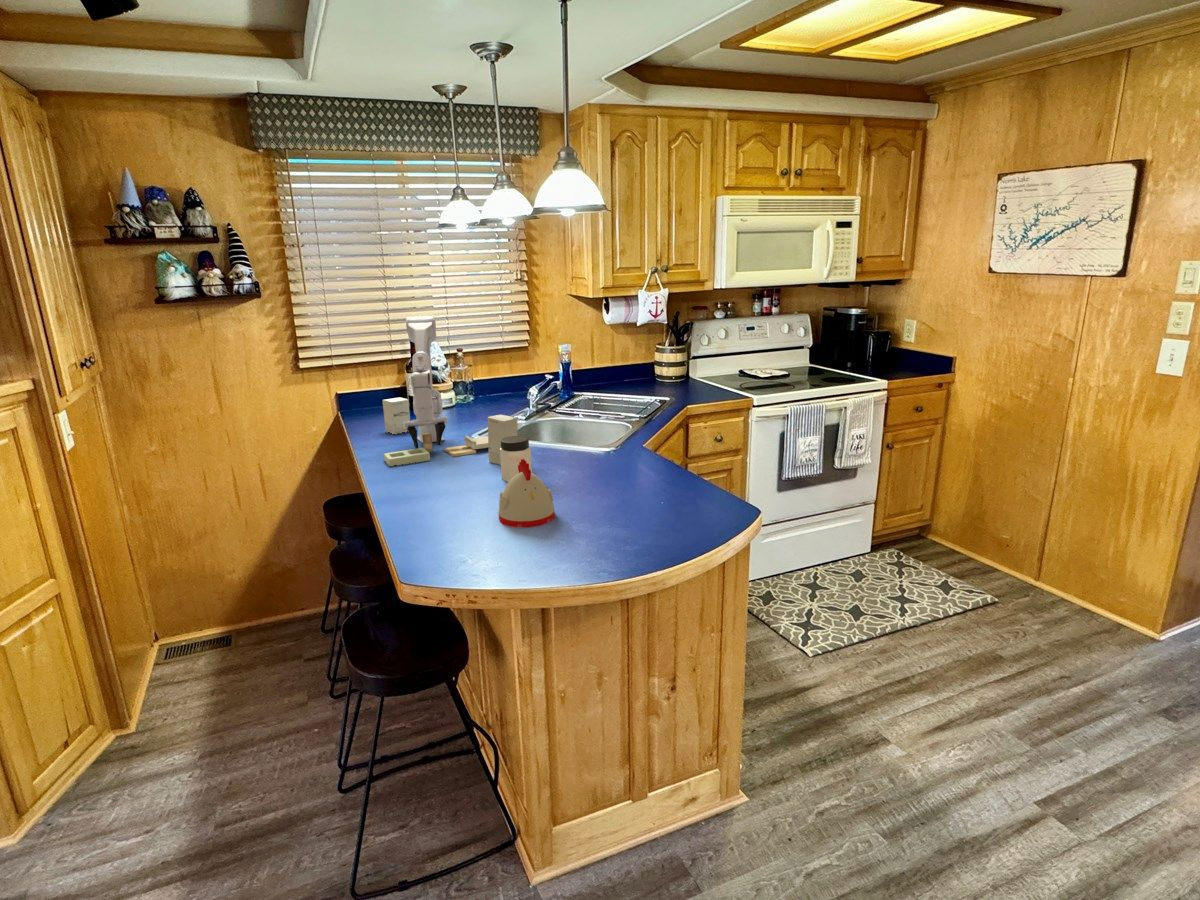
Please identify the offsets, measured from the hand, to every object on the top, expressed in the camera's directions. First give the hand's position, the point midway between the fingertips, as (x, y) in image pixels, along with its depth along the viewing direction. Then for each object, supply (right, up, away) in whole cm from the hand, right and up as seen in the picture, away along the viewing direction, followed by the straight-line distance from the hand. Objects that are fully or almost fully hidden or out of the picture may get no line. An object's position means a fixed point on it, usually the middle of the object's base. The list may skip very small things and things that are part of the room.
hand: (427, 446), depth 237 cm
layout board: (+12, -2, -2) cm, 12 cm away
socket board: (-4, -5, -10) cm, 12 cm away
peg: (0, -2, +1) cm, 2 cm away
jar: (+34, -10, -32) cm, 48 cm away
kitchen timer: (+40, -18, -62) cm, 77 cm away
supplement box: (-18, +5, +29) cm, 35 cm away
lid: (+18, 0, +1) cm, 18 cm away
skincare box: (+28, -5, -15) cm, 32 cm away
